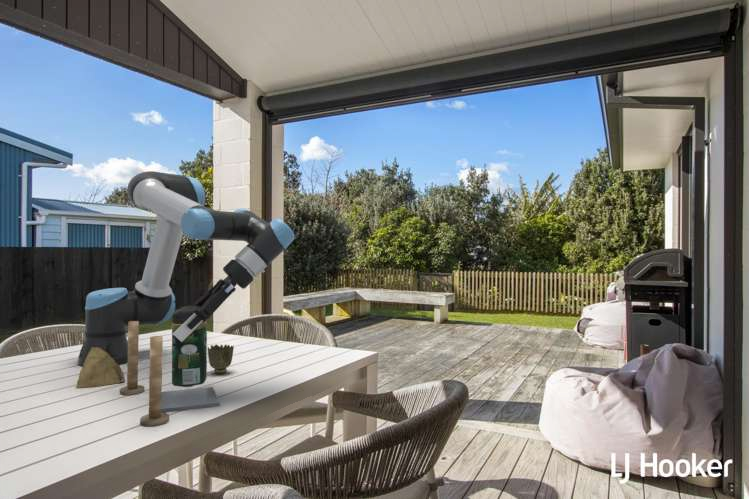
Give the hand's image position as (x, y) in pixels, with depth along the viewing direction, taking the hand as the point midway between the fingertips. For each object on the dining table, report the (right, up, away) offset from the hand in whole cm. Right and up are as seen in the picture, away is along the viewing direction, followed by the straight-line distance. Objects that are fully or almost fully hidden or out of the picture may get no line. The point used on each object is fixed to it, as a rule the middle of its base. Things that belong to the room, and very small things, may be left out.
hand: (176, 334), depth 114 cm
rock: (-26, -16, +14) cm, 33 cm away
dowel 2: (+1, -16, -13) cm, 21 cm away
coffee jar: (+3, -12, +1) cm, 13 cm away
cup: (+2, -17, +27) cm, 32 cm away
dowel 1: (-14, -16, +7) cm, 23 cm away
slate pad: (+2, -16, +1) cm, 17 cm away
